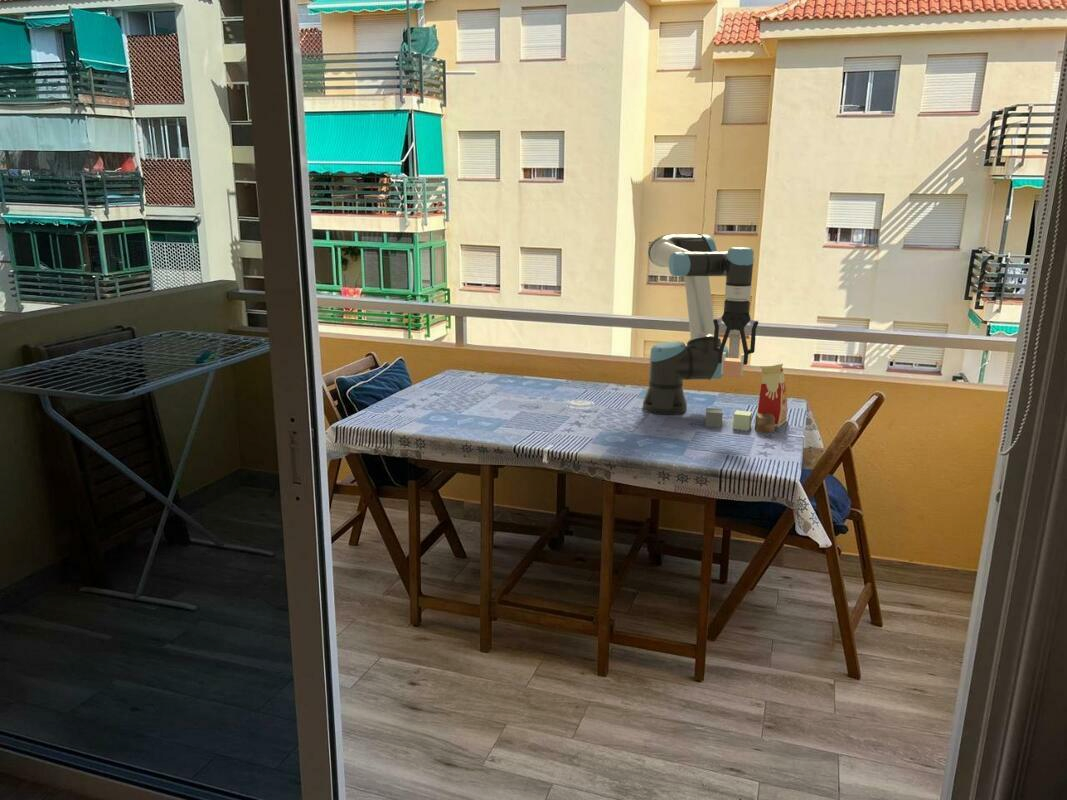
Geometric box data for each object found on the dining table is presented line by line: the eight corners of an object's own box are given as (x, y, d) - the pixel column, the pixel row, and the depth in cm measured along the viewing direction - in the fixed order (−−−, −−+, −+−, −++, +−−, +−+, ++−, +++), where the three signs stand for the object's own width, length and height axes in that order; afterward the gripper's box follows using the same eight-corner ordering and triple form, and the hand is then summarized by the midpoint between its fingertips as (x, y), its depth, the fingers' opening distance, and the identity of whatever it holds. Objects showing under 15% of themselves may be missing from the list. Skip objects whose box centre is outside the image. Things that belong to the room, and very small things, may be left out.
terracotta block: (722, 376, 240) (724, 360, 238) (724, 373, 244) (725, 357, 243) (739, 377, 238) (740, 361, 237) (740, 374, 243) (741, 358, 242)
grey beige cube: (705, 427, 251) (706, 412, 250) (705, 422, 256) (706, 408, 255) (721, 427, 250) (722, 412, 249) (720, 423, 255) (721, 408, 254)
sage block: (732, 429, 249) (733, 414, 248) (735, 424, 254) (736, 410, 252) (748, 430, 247) (749, 415, 246) (750, 426, 252) (752, 411, 251)
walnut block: (757, 432, 245) (758, 417, 244) (754, 428, 250) (756, 413, 249) (773, 433, 245) (775, 418, 244) (770, 428, 250) (772, 413, 248)
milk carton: (786, 420, 259) (792, 361, 253) (779, 427, 251) (785, 367, 246) (759, 416, 263) (764, 358, 258) (751, 423, 255) (756, 363, 250)
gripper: (705, 299, 234) (701, 374, 241) (768, 302, 229) (761, 378, 235) (708, 296, 241) (703, 369, 247) (768, 299, 236) (762, 373, 242)
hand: (731, 373), depth 241 cm, fingers closed on terracotta block, 5 cm apart
